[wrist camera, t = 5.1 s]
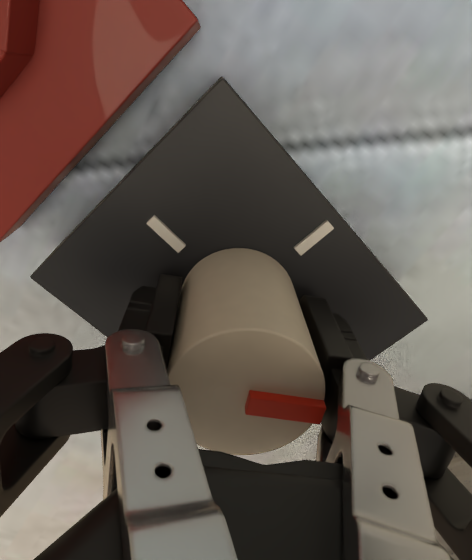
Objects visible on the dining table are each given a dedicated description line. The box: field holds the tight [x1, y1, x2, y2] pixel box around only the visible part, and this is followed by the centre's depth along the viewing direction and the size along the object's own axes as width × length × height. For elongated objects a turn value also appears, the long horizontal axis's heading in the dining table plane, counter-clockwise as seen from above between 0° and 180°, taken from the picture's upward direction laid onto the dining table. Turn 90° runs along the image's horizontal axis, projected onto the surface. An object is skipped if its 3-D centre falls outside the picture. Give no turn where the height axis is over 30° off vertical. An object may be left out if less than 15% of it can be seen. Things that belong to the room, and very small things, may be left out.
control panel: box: [30, 77, 428, 361], centre depth 16 cm, size 11×9×3 cm
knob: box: [167, 248, 326, 455], centre depth 13 cm, size 4×4×5 cm
